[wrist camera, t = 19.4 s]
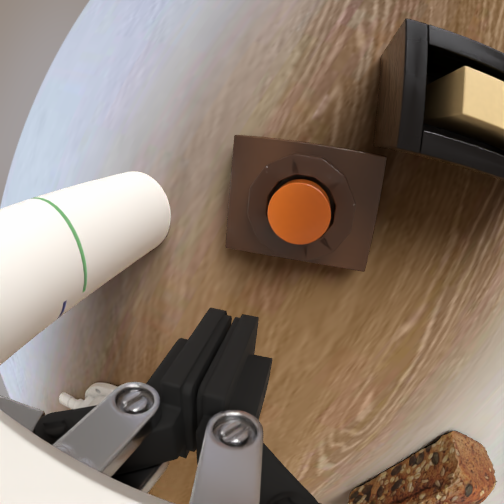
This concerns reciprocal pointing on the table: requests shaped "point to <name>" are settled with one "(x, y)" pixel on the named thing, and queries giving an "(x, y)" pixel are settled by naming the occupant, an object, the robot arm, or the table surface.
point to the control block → (313, 169)
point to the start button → (299, 212)
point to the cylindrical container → (72, 248)
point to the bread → (434, 476)
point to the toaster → (414, 96)
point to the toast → (467, 105)
